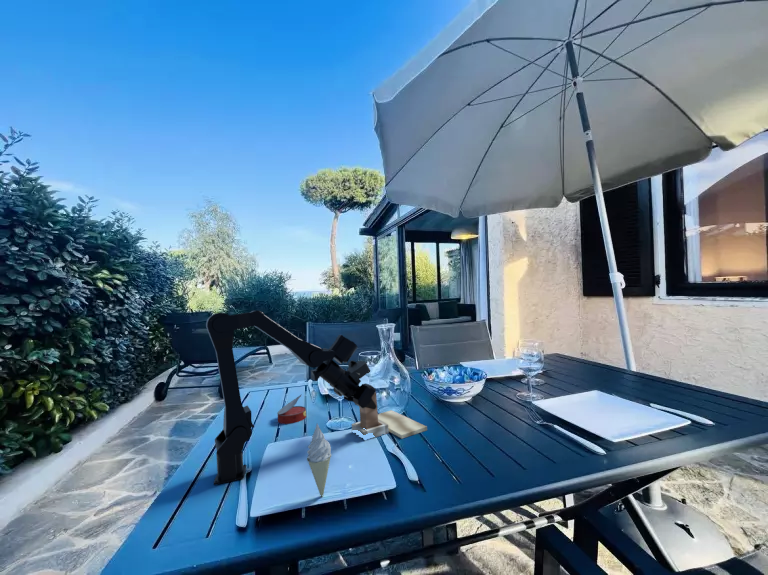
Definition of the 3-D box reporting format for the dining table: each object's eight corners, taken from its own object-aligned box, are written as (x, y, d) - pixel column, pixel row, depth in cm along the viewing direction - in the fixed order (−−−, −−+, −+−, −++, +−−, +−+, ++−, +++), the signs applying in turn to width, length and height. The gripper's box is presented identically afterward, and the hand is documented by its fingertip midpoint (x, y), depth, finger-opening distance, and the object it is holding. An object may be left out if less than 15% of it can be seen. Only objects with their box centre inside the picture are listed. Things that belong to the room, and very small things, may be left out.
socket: (374, 448, 89) (373, 438, 89) (344, 426, 106) (343, 418, 106) (427, 430, 98) (426, 421, 98) (391, 413, 115) (391, 405, 115)
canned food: (296, 436, 113) (286, 415, 109) (275, 429, 118) (265, 409, 114) (316, 411, 121) (308, 391, 117) (296, 406, 126) (287, 386, 122)
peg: (367, 432, 97) (364, 395, 97) (360, 428, 100) (358, 392, 101) (378, 429, 99) (376, 392, 99) (372, 425, 102) (369, 389, 103)
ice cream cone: (335, 488, 71) (330, 417, 71) (332, 502, 66) (327, 426, 66) (312, 490, 71) (307, 419, 71) (307, 504, 66) (302, 428, 66)
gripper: (367, 356, 90) (403, 389, 96) (340, 350, 106) (372, 378, 112) (342, 391, 86) (381, 423, 91) (318, 379, 102) (353, 407, 107)
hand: (372, 406), depth 100 cm, fingers closed on peg, 4 cm apart
